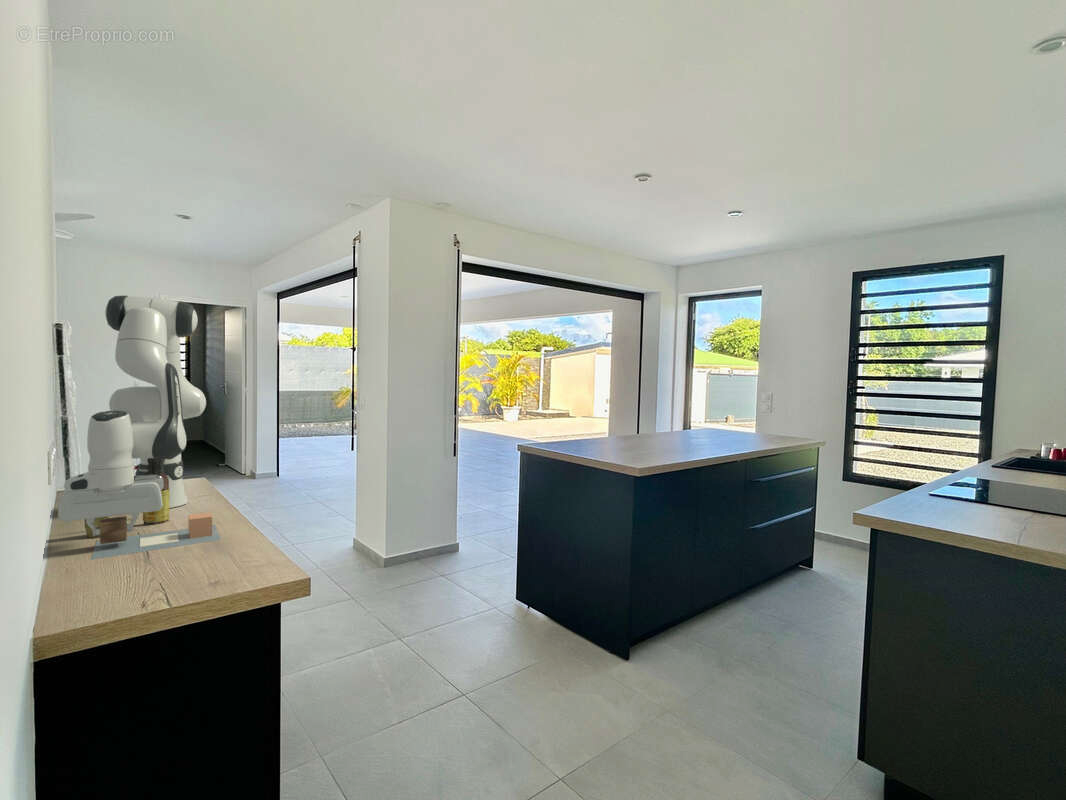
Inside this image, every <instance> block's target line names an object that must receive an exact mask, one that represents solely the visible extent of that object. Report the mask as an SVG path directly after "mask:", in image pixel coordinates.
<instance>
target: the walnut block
mask: <svg viewBox="0 0 1066 800" xmlns="http://www.w3.org/2000/svg"><path fill="white" fill-rule="evenodd" d="M127 517H128V516H127V515H120V516H112V517H109V518H104V519H101V521H100V538H99V541H100V544H107V543H114V542H121V541H126V540H127V537H128V532H126V529H127V528H126V524H127V523H128V520H127Z"/></svg>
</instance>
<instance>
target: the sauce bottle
mask: <svg viewBox="0 0 1066 800" xmlns="http://www.w3.org/2000/svg"><path fill="white" fill-rule="evenodd" d="M164 461H165V459H155V458H148V460H147V462H148V474H147V475H151V474H156V476H160V477H162V478H163V480H164V487H163V489H162V490H161V495H162V502H163V507H162V508H161V509H160V510H159V511H152V512H143V513H142V521H143V523H142V524H143V525H146V526H147V525H148V526H151V525H160V524H165V523H168V522H169V521H170V520H169V519H170V508H169V479H168V477H167V476H166V475H165V473H164ZM156 478H158V477H156Z"/></svg>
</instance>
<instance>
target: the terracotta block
mask: <svg viewBox="0 0 1066 800" xmlns="http://www.w3.org/2000/svg"><path fill="white" fill-rule="evenodd" d="M212 525H213V516H212V513H211V512H204V513H196V514H189V515H188V529H189V537H190V539H191V538H198V537H205V536H211V535H212Z"/></svg>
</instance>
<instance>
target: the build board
mask: <svg viewBox="0 0 1066 800" xmlns="http://www.w3.org/2000/svg"><path fill="white" fill-rule="evenodd" d="M215 541H217V542H218V541H222V538H221V536H220V533H219V531H218V529H217V527H216V525H215V524H214V525H213V524H212V535H211V536H205V537H198V538H191V539H190V537H189V528H184V529H183V528H182V529H176V530H169V531H168V530H167V531H160V532H153V533H147V534H145V533H144V534H139V535H138V534H137V535H130V536H127V540H126V541H121V542H114V543H107V544H100V540H96V542H95V546H94V548H93V551H92V554H91V557H90V560H96V559H105V558H109V557H117V556H124V555H131V554H136V553H143V552H149V551H156V550H161V549H162V550H164V549H170V548H177V547H183V546H190V545H196V544H197V545H198V544H204V543H209V542H215Z"/></svg>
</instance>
